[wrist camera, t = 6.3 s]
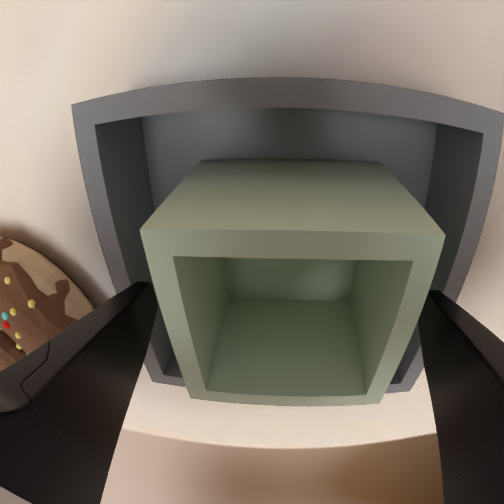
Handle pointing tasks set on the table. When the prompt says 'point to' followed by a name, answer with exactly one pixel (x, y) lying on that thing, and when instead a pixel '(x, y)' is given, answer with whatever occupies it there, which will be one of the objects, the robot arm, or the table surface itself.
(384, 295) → the small crate
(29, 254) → the donut
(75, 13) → the table surface
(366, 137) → the big crate
